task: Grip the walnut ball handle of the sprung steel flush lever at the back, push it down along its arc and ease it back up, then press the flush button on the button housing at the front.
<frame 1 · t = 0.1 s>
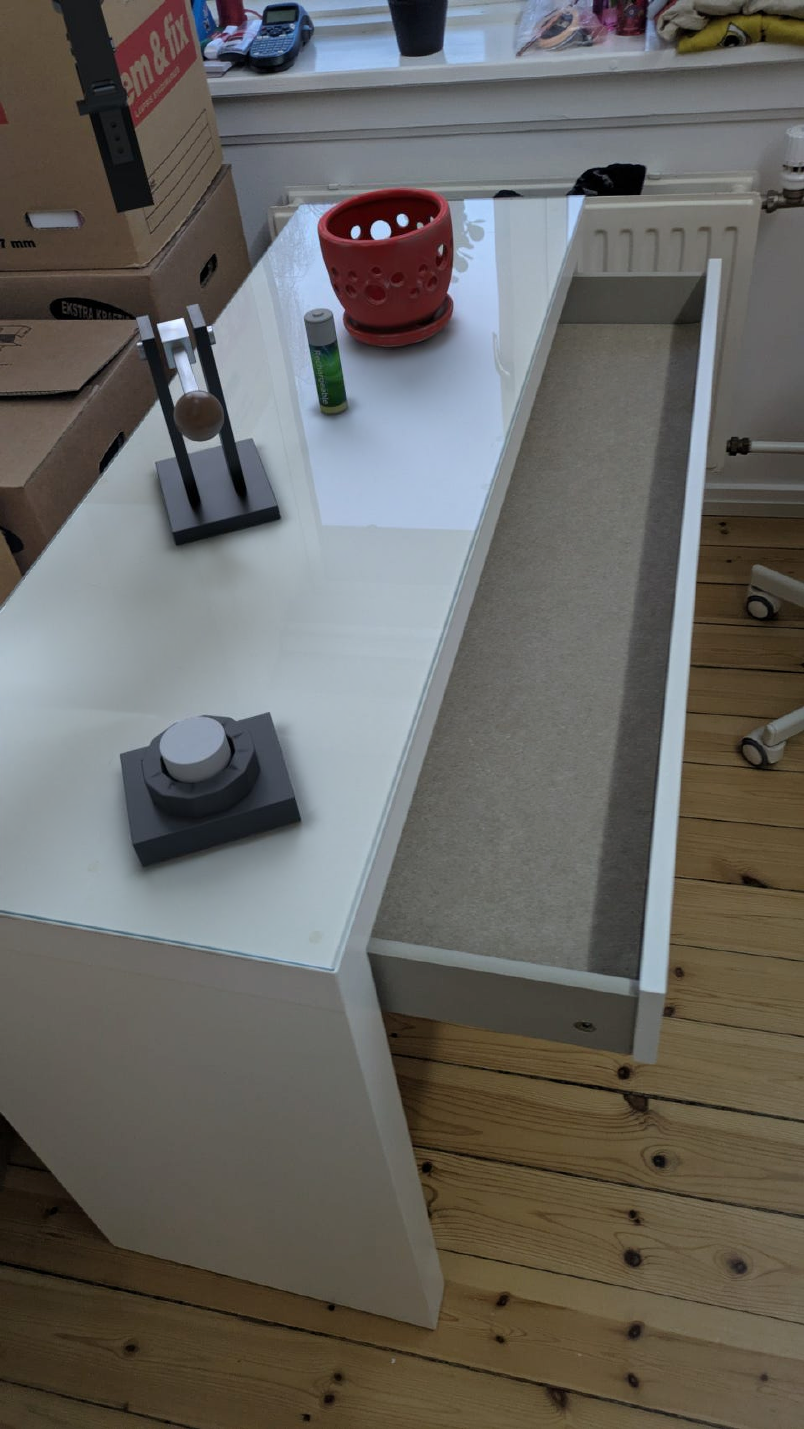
hand: (126, 179, 83), 24 cm above the table, tool pointing down, fingers open, 13 cm apart
battery: (334, 409, 104), on the table
lever bracket: (217, 495, 95), on the table
flush lever: (187, 380, 82), point 13 cm above the table, hinge at -7.2°
flower pot: (397, 330, 114), on the table
flush button: (195, 749, 67), point 4 cm above the table, slide at 0.1 cm
button housing: (212, 797, 70), on the table
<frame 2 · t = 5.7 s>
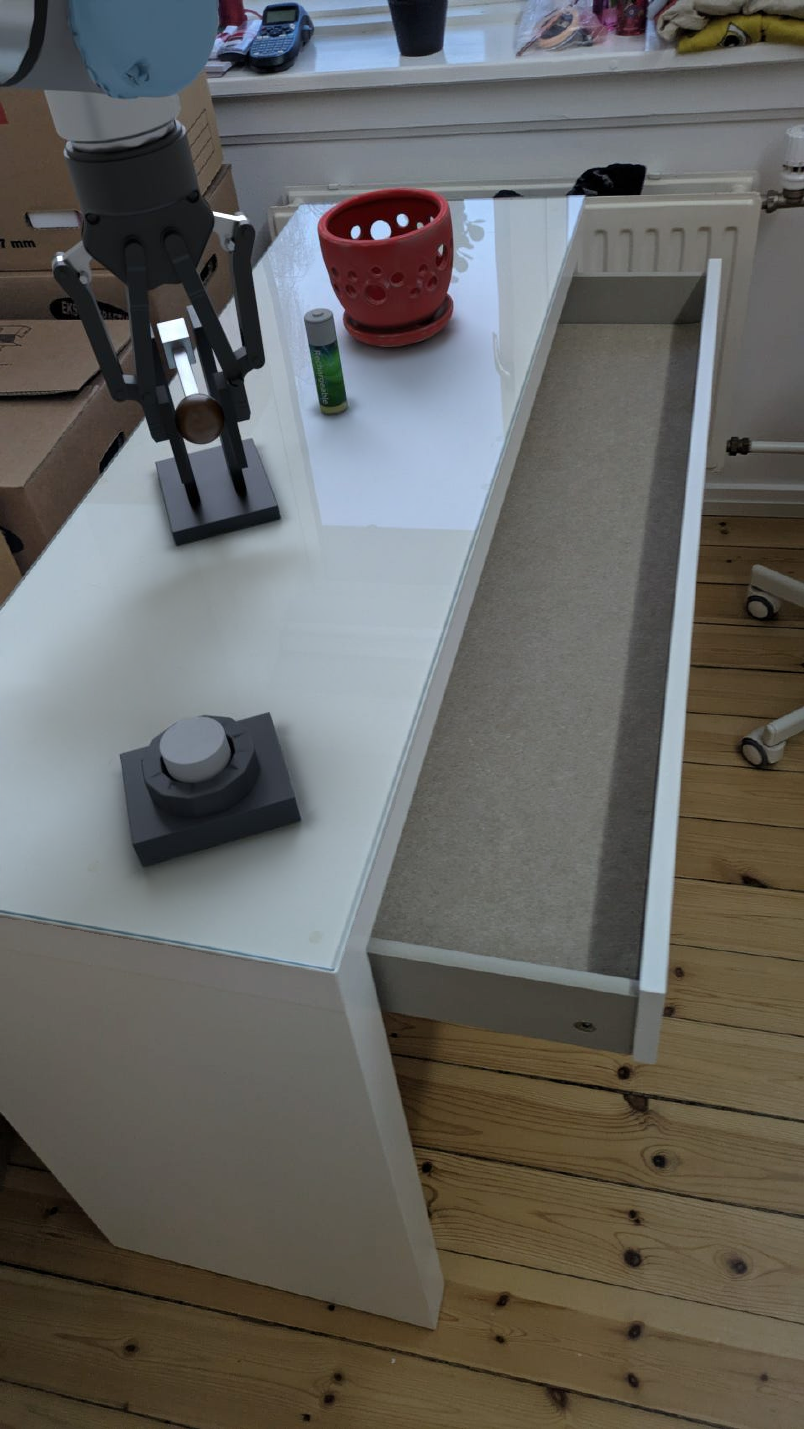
hand: (212, 466, 82), 9 cm above the table, tool pointing down, fingers closed on flush lever, 4 cm apart
flush lever: (188, 381, 82), point 13 cm above the table, hinge at -8.7°, touching gripper
everything else where it was.
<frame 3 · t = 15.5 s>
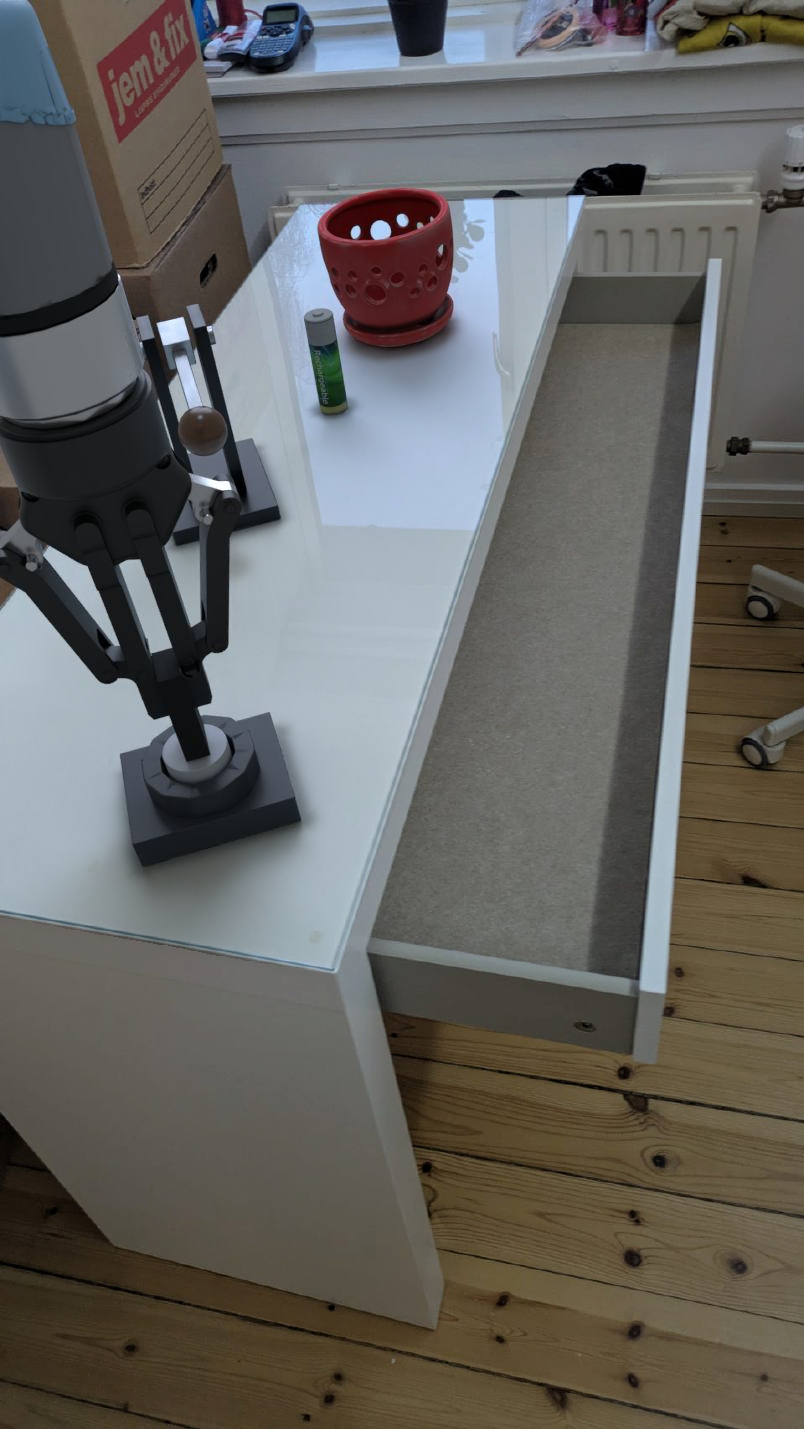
hand: (195, 743, 66), 5 cm above the table, tool pointing down, fingers closed
flush lever: (189, 387, 83), point 13 cm above the table, hinge at -15.2°
flush button: (198, 756, 67), point 4 cm above the table, slide at -0.5 cm, touching gripper
everything else where it was.
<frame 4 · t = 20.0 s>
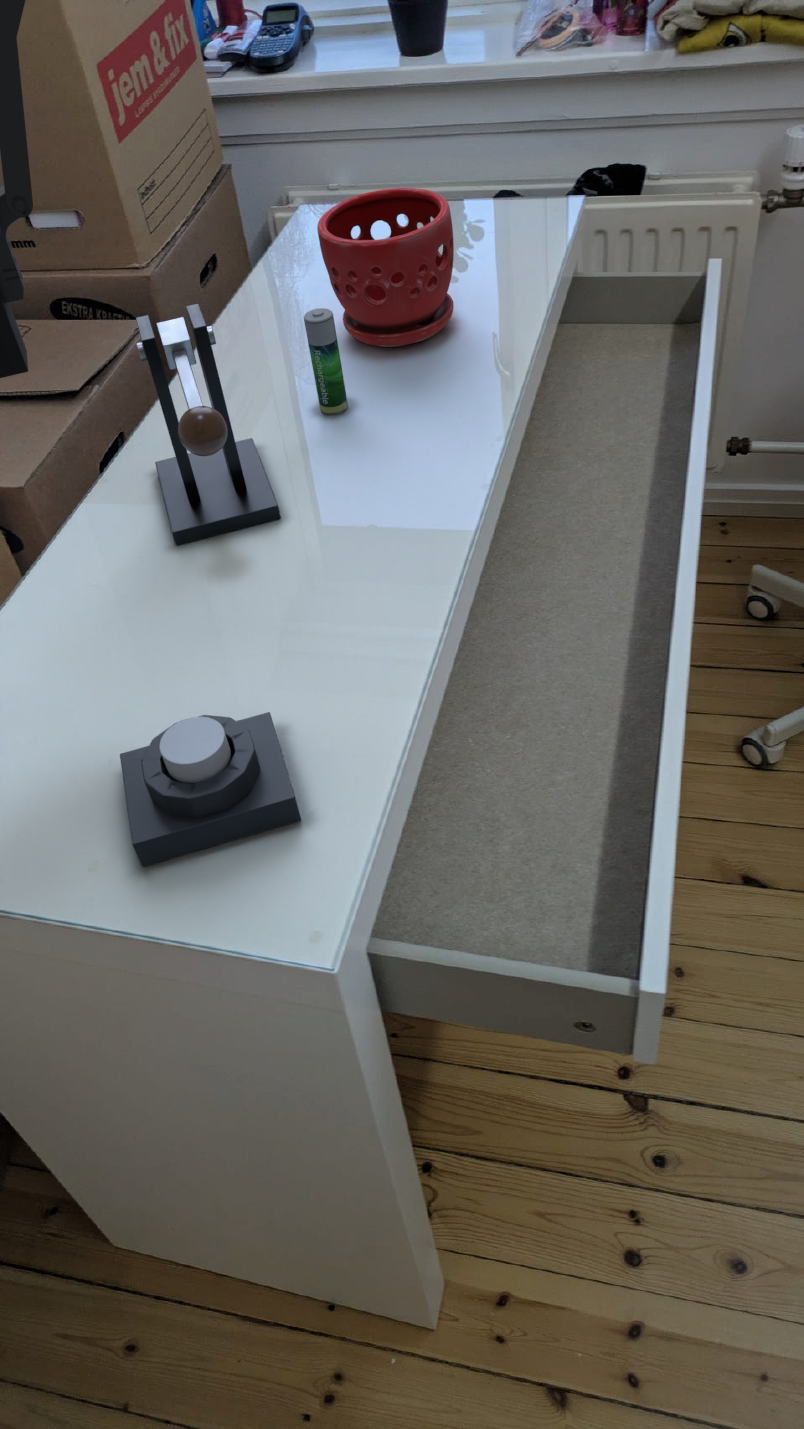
hand: (13, 363, 57), 26 cm above the table, tool pointing down, fingers closed
flush button: (195, 749, 67), point 4 cm above the table, slide at 0.1 cm
everything else where it was.
at the end: flush lever reached -32° during the clip, -15° at the end; flush button pushed in 1.0 cm at the most during the clip, back to where it started at the end; flush button slide at 0.1 cm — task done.
